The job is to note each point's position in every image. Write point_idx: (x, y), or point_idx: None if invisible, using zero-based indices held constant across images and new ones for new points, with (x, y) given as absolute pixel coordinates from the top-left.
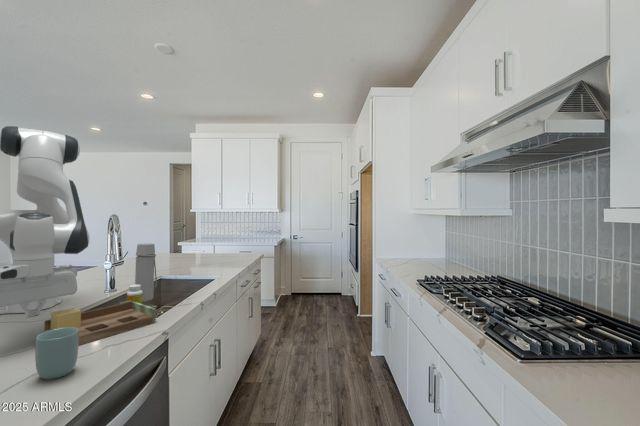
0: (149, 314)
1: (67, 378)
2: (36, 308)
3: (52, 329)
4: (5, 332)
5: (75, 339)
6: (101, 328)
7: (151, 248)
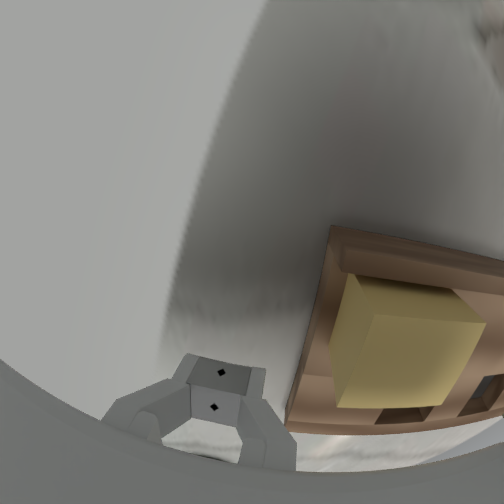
0: None
1: None
2: (240, 409)
3: (343, 297)
4: (264, 4)
5: None
6: None
7: None
